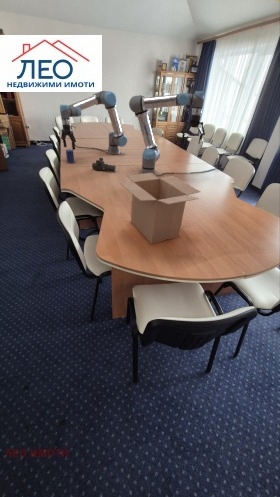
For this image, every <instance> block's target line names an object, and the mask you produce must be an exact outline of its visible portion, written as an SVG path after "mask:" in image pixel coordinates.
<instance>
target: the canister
mask: <svg viewBox="0 0 280 497" xmlns="http://www.w3.org/2000/svg"><path fill="white" fill-rule="evenodd" d="M65 154H66V155H65V156H66V161H67V164H75V156H74V150H73V149H66V150H65Z"/></svg>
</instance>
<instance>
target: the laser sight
mask: <svg viewBox="0 0 280 497" xmlns="http://www.w3.org/2000/svg"><path fill="white" fill-rule="evenodd" d="M91 168H92V170H95V171H101V172H102V171H103V172H113V173H115V172H116V169H117V167H116V165H114V164H108V163H105V161H104V158H103V157H99V158H98V160H97V159H96V160H95V162H92V164H91Z"/></svg>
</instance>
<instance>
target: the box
mask: <svg viewBox="0 0 280 497" xmlns="http://www.w3.org/2000/svg"><path fill="white" fill-rule="evenodd" d="M126 177H127V178H128V179H129V180H130V181H117V182H118V184H120V185H121V186H122V187H123V188H124V189H126V190H127V191H128V192H129V193H131V212H130V216H131V217H130V222H131V224H132V225H133V226H134V227H135V228H136V229H137V230H138V231H139V232H140V233H141V234H142V236H144V237H145V239H147V241H149V242H150V244H151V245H152V244H155V243H159V242H162V241H167V240H171V239H174V238H178V237H179V236H180V232H181V228H182V222H183V218H184V213H185V207H186V202H189V201H193V200H199V198H198V197H195V196H192V195H193V194H197V193H201V190H199V189H197V188H195V187H194V186H191V185H190V184H188V183H186V182H185V181H183V180H181V179H179V178H177V177H175V176H173V175H171V176H165V177H159V176H157V174H156V175H154V174H153V173H145V174H140V173H136V174H128V175H126Z"/></svg>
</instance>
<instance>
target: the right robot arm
mask: <svg viewBox="0 0 280 497" xmlns="http://www.w3.org/2000/svg"><path fill="white" fill-rule="evenodd" d="M205 95H206V92H205V91H202V90H195V91H194V93H188V92H180V93H176V94H174V93H173V94H166V95H157V96H149V97H145V96H143V95H141V94H139V95H134V96H131V98H130V99H129V102H128V106H129V109H130V111H131V112H132V113H134V116H135V117H136V118H137V121H138V123H139V128H140V131H141V135H142V138H143V143H144V145H145V147H144V150H143V151H142V159H141V160H142V161H141V169H140V172H139V174H145V173H153V174H154V175H156V176H157V177H160V176H161V177H162V176H163V175H168V174H170V175H171V174H173V172H164V173H162V174H156V169H155V167H156V162H157V161H158V160H159V159H160V156H161V151H160V150H159V149H158V145H157V144H156V143H155V138H154V136H153V132H152V127H151V124H150V120H149V116H148V113H149V109H150V110H151V109H152V110H153V109H161V108H170V107H184V106H192V110H191V116H190V120H186V121H185V124H184V126H183V127H182V129H181V130H180V133H181V134H182V135H181V138H182V143H184V142H185V137H186V133H187V131H188V130H189V129H190V128H194V129H196V128H197V130H198V132H199V134H200V135H199V138H198V143H197V144H198V145H200V143H201V141H202V139H203V136H205V135H206V132H205V128H204V121H201V118H202V116H201V115H202V110H203V106H204V101H205ZM187 125H188V126H187ZM199 125H200V126H201V128H200V126H199ZM201 129H202V130H201ZM217 169H218V170H220V168H219V167H215V168H212V169H208V170H204V171H196V172H195V171H194V172H193V171H192V172H191V174H199V173H206V172H210V171H214V170H217Z"/></svg>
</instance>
